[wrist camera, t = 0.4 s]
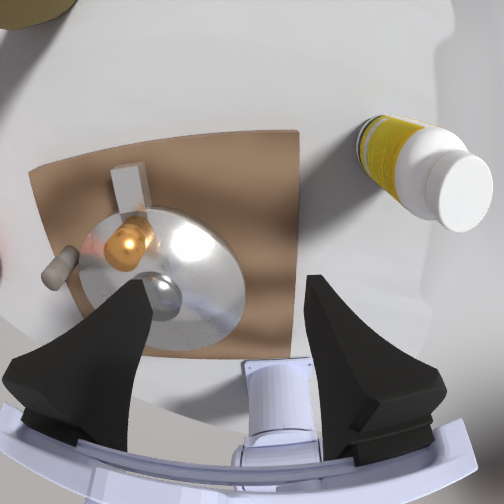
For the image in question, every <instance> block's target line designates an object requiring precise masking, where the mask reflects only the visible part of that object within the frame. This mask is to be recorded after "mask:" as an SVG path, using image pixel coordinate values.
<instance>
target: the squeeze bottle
mask: <svg viewBox="0 0 504 504" xmlns="http://www.w3.org/2000/svg"><path fill="white" fill-rule="evenodd" d="M75 1H76V0H0V29H6V30H21V29H24V28H27V27H30V26H33V25H37V24H40V23H43V22H47V21H50V20H52V19H55V18H57V17H59V16H60V15H62V14H63V13H64V12H65V11H67V10H68V9H69V8H70V7H71V6H72V5H73V4H74V2H75Z"/></svg>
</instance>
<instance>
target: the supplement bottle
mask: <svg viewBox="0 0 504 504" xmlns="http://www.w3.org/2000/svg"><path fill="white" fill-rule="evenodd" d="M356 153H357V158H358V161H359V163H360V166H361V167H362V169H363V170H364V172H365V173H366V174H367V175H368V176H369V177H370V178H371V179H373V180H374V181H375V182H376V183H377V184H379V185H380V186H381V187H382V188H383V189H385V190H386V191H387V192H388V193H389V194H390V195H391V196H393V197H394V198H395V199H396V200H397V201H398V202H399V203H400V204H401V205H402V206H403V207H405V208H406V209H407V210H408V211H410V212H411V213H412V214H413V215H415V216H417V217H419V218H421V219H425V220H437V221H438V222H439V223H440V224H442V225H443V226H444V227H445V228H446V229H447V230H449V231H451V232H455V233H462V232H466V231H468V230H470V229H472V228H473V227H475V226H476V225H477V224H478V223H479V222H480V221H481V220H482V218H483V217H484V215H485V214H486V212H487V210H488V207H489V205H490V202H491V199H492V193H493V192H492V191H493V181H492V175H491V172H490V170H489V168H488V166H487V164H486V163H485V162H484V161H483V160H482V159H480V158H479V157H477V156H475V155H473V154H471V153H469V152H468V151H467V149H466V147H465V145H464V144H463V142H462V141H461V140H460V139H459V138H458V137H457V136H456V135H455V134H453V133H451V132H450V131H447V130H445V129H443V128H440V127H437V126H434V125H431V124H427V123H424V122H421V121H417V120H413V119H410V118H406V117H402V116H399V115H394V114H380V115H377V116H375V117H373V118H371V119H370V120H368V121H367V122H366V123H365V124H364V125H363V127H362V128H361V130H360V132H359V134H358V137H357V142H356Z"/></svg>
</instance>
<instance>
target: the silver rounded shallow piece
mask: <svg viewBox="0 0 504 504" xmlns="http://www.w3.org/2000/svg"><path fill="white" fill-rule="evenodd" d="M110 171H111V176H112V181H113V186H114V190H115V195H116V199H117V204H118V208H119V210H117V211H115V212H113V213H111V214H109V215H108V216H106V217H105V218H104V219H103V220H101V221H100V222H99V223H98V224H97V225H96V226H95V227H94V229H93V230H92V231H91V232H90V233H89V234H88V236H87V237H86V239H85V241H84V242H83V245H82V248H81V250H80V255H79V276H80V280H81V284H82V287H83V289H84V292H85V294H86V296H87V298H88V300H89V302H90V303H91V304H92V306H93V307H94V309H95V310H96V309H97V308H98V307H99V306H100V305H101V304H102V303H104V302H105V301H106V300H107V299H108V298H109V297H110V296H111V295H112V294H114V293H115V292H116V291H117V290H118V289H119V288H120V287H121V286H123V285H124V284H125V283H126V282H127V281H129V280H130V279H142V281H143V284H144V287H145V290H146V293H147V296H148V299H149V302H150V305H151V307H152V310H153V317H152V323H151V327H150V332H149V335H148V338H147V341H146V344H145V345H147V346H150V347H154V348H158V349H163V350H171V351H188V350H196V349H201V348H204V347H207V346H210V345H213V344H215V343H217V342H219V341H220V340H222V339H223V338H225V337H226V336H227V335H228V334H230V333H231V332H232V331H233V329H234V328H235V327H236V326H237V324H238V322H239V321H240V319H241V316H242V314H243V311H244V306H245V277H244V273H243V269H242V266H241V264H240V262H239V260H238V258H237V256H236V254H235V252H234V251H233V249H232V248H231V246H230V245H229V244H228V243H227V241H226V240H225V239H224V238H223V237H222V236H221V235H220V234H219V233H218V232H217V231H215V230H214V229H213V228H212V227H211V226H209V225H208V224H206V223H205V222H203V221H202V220H201V219H199V218H197V217H195V216H193V215H191V214H189V213H187V212H184V211H181V210H179V209H176V208H172V207H168V206H163V205H154V204H152V202H151V197H150V191H149V186H148V180H147V174H146V168H145V162H144V161H142V162H136V163H129V164H123V165H118V166H116V167H115V168H113V169H112V170H110Z"/></svg>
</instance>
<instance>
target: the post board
mask: <svg viewBox="0 0 504 504" xmlns="http://www.w3.org/2000/svg"><path fill="white" fill-rule="evenodd" d="M142 161H144V162H145V168H146V174H147V180H148V186H149V191H150V197H151V202H152V204H154V205H163V206H168V207H172V208H176V209H179V210H181V211H184V212H187V213H189V214H191V215H193V216H195V217H197V218H199V219H201V220H202V221H203V222H205V223H206V224H208V225H209V226H211V227H212V228H213V229H214V230H215V231H217V232H218V233H219V234H220V235H221V236H222V237H223V238H224V239H225V240H226V241H227V243H228V244H229V245H230V246H231V248H232V249H233V251H234V252H235V254H236V256H237V258H238V260H239V262H240V264H241V266H242V269H243V273H244V277H245V306H244V311H243V314H242V316H241V319H240V321H239V322H238V324H237V326H236V327H235V328H234V329H233V331H232V332H231V333H230V334H228V335H227V336H226V337H225V338H223V339H222V340H220V341H219V342H217V343H215V344H213V345H210V346H207V347H204V348H201V349H196V350H188V351H171V350H163V349H158V348H154V347H150V346H147V345H145V347H144V350H143V352H142V356H153V357H168V358H187V359H272V358H290V351H291V340H292V327H293V314H294V299H295V283H296V264H297V242H298V213H299V132H298V131H297V130H256V131H236V132H221V133H209V134H199V135H190V136H181V137H173V138H166V139H159V140H152V141H146V142H140V143H134V144H129V145H124V146H119V147H114V148H109V149H104V150H100V151H95V152H91V153H87V154H83V155H79V156H75V157H71V158H67V159H63V160H60V161H56V162H53V163H50V164H46V165H43V166H40V167H37V168H35V169H33V170H32V171H30V172H28V174H29V178H30V182H31V186H32V190H33V193H34V197H35V200H36V204H37V207H38V210H39V214H40V217H41V220H42V223H43V226H44V229H45V232H46V234H47V237H48V240H49V243H50V245H51V248H52V250H53V253H54V256H55V258H54V259H53V261H52V262H51V263H50V264H49V265H48V266H47V267H46V268H45V270H44V271H43V272H42V274H41V279H42V281H43V283H44V284H45V286H46V287H47V288H49V289H50V290H52V291H57V290H58V289H59V288H60V287H61V285H62V284H63V283H64V281H66V284H67V286H68V288H69V290H70V292H71V294H72V296H73V298H74V300H75V302H76V304H77V306H78V308H79V310H80V312H81V314H82V316H83V318H84V319H85V318H86V317H87V316H88V315H90V314H91V313H92V312H93V311H94V310H95V309H94V307H93V306H92V304H91V303H90V302H89V300H88V298H87V296H86V294H85V292H84V289H83V287H82V284H81V280H80V276H79V255H80V250H81V248H82V245H83V242H84V241H85V239H86V237H87V236H88V234H89V233H90V232H91V231H92V230H93V229H94V227H95V226H96V225H97V224H98V223H99V222H100V221H101V220H103V219H104V218H105V217H106V216H108V215H109V214H111V213H113V212H115V211H117V210H119V208H118V204H117V199H116V195H115V190H114V186H113V181H112V176H111V171H110V170H112V169H113V168H115V167H116V166H118V165H123V164H129V163H136V162H142Z"/></svg>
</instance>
